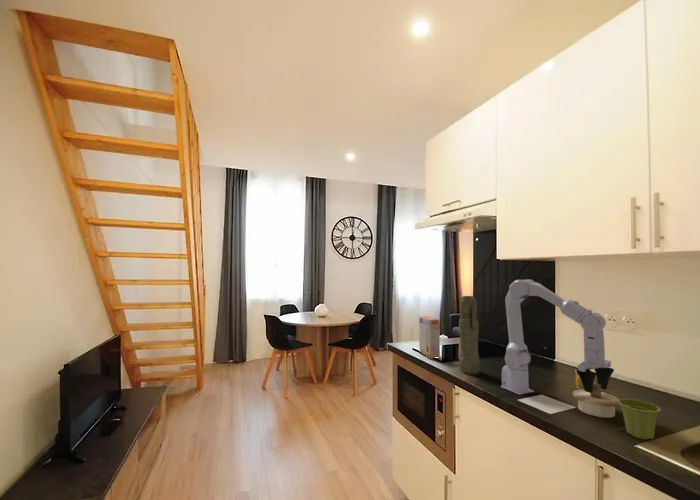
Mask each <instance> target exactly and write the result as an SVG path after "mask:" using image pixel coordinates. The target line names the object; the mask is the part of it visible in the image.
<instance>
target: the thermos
mask: <svg viewBox="0 0 700 500" xmlns="http://www.w3.org/2000/svg"><path fill="white" fill-rule="evenodd" d="M459 313H460V315H459V319H458V320H459V321H458V334H459V338H460V339H459V343H460V344H459V345H460V346H459V349H460V350H459V351H460V352H459V357H458V358H459V360H458V361H459V363H458V365H459V372H460V371H462V372H465V373H470V374H469V375H477V374H476V373H478V374H479V373H480V356H479V341H478V339H479V338H478V337H479V334H480V333H479V331H480V330H479V329H480V328H479V327H480V326H479V320H478V316H477V315H478V304H477V299H476V297H475V296H473V295H463V296H461V299H460V300H459ZM462 372H461V373H462ZM465 373H464V374H465Z"/></svg>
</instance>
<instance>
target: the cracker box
mask: <svg viewBox="0 0 700 500" xmlns="http://www.w3.org/2000/svg"><path fill="white" fill-rule="evenodd" d="M418 319H419V320H418V321H419V322H418V324H419V325H418V326H419V331H418V332H419V335H418V336H419V338H418V339H419V345H418V346H419V349H418V350H419V352H421V353H422V354H424V355H426V356H427V357H429V358H435V357H440V353H441V352H440V351H441V350H440V342H441V341H440V340H441V339H440V319H437V318H434V317H431V316H428V315H427V316H426V315H425V316H423V315H422V316H419V318H418ZM422 354H421V355H422ZM424 355H423V356H424ZM427 357H426V358H427ZM429 358H428V359H429ZM440 358H441V357H440Z"/></svg>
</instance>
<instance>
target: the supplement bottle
mask: <svg viewBox="0 0 700 500" xmlns="http://www.w3.org/2000/svg"><path fill="white" fill-rule="evenodd" d="M581 363H582V362H578V363H577V364H576V365H577V367H578V364H581ZM575 388H577V390H581V389H584V387H583V384H582V381H581V379H580V377H579V375H578V373H577V372H576V371H575Z"/></svg>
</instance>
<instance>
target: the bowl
mask: <svg viewBox="0 0 700 500" xmlns="http://www.w3.org/2000/svg"><path fill="white" fill-rule="evenodd" d="M577 408H578V410H580V411H581V412H582V413H585V414H587V415H590V416H593V417H594V416H595V417H598V418H608V419H609V418H614V417H615V416H616V406H612V407H608V406H599V405H593V404H589V403H586V402H583V401H580V400H578V399H577Z"/></svg>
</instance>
